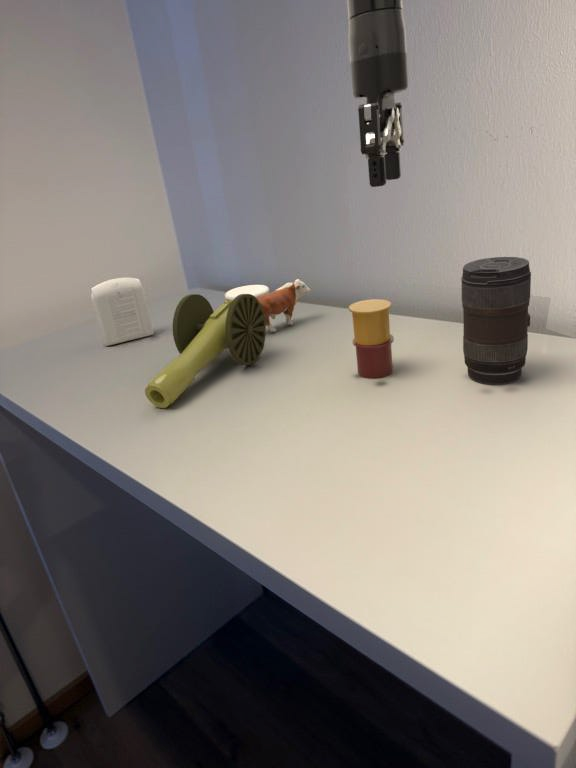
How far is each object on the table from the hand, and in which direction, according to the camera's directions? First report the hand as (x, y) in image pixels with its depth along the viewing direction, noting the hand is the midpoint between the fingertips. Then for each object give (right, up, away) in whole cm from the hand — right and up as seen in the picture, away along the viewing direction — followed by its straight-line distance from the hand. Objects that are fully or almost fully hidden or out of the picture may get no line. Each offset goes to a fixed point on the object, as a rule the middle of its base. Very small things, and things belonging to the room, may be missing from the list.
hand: (386, 182), depth 79 cm
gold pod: (-2, -23, -2) cm, 23 cm away
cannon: (-27, -28, +7) cm, 40 cm away
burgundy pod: (-2, -28, 0) cm, 28 cm away
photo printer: (-47, -21, +31) cm, 60 cm away
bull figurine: (-15, -19, +25) cm, 35 cm away
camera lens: (+13, -28, -6) cm, 32 cm away
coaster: (-23, -12, +42) cm, 50 cm away
